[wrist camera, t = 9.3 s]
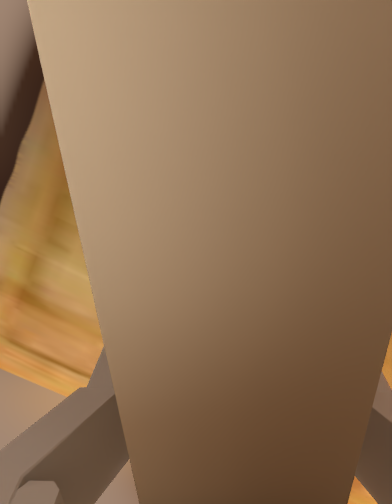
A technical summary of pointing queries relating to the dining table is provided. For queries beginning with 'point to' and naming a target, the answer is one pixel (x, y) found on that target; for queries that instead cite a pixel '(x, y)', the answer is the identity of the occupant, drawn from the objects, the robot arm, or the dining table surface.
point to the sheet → (232, 231)
